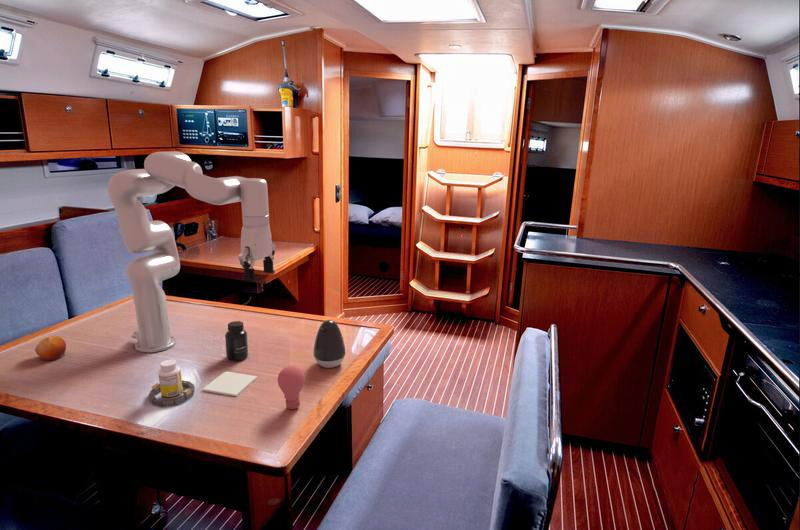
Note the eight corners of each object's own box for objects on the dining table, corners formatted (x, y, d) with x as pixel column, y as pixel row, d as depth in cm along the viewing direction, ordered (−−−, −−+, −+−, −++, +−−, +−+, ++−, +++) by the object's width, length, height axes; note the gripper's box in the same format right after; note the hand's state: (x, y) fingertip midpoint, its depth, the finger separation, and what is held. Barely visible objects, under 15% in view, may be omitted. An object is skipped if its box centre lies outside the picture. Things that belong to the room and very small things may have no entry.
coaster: (202, 390, 134) (202, 388, 134) (225, 373, 145) (225, 371, 145) (236, 396, 132) (236, 394, 132) (257, 378, 142) (257, 376, 142)
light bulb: (281, 400, 130) (279, 361, 127) (307, 399, 131) (305, 360, 128) (277, 415, 124) (274, 374, 120) (304, 414, 124) (302, 373, 121)
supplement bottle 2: (241, 363, 151) (239, 328, 148) (222, 360, 152) (219, 326, 149) (252, 353, 158) (250, 320, 155) (233, 351, 159) (231, 318, 156)
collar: (139, 403, 128) (138, 395, 127) (169, 382, 138) (168, 375, 138) (175, 409, 125) (174, 401, 124) (202, 388, 136) (202, 380, 135)
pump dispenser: (307, 368, 149) (305, 324, 145) (323, 355, 158) (322, 312, 154) (336, 374, 145) (335, 329, 141) (350, 360, 155) (350, 317, 151)
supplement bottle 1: (172, 388, 135) (169, 356, 132) (187, 392, 133) (184, 360, 131) (156, 398, 130) (152, 364, 127) (171, 402, 128) (167, 368, 125)
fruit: (76, 351, 154) (58, 335, 149) (53, 369, 150) (34, 354, 145) (70, 344, 159) (51, 328, 154) (48, 361, 155) (28, 346, 150)
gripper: (262, 215, 147) (265, 268, 151) (226, 225, 131) (230, 283, 135) (283, 217, 145) (285, 270, 149) (249, 227, 129) (253, 286, 133)
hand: (259, 276), depth 142 cm, fingers open, 9 cm apart
